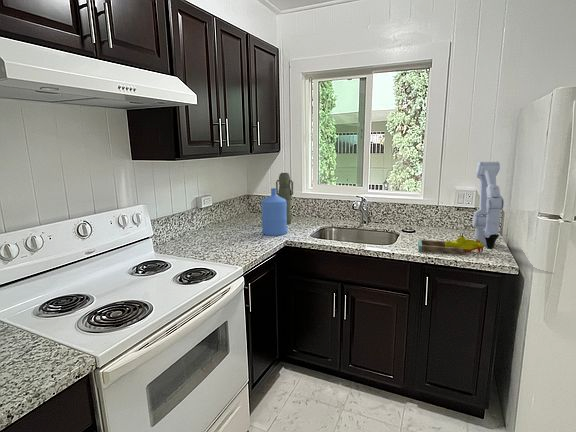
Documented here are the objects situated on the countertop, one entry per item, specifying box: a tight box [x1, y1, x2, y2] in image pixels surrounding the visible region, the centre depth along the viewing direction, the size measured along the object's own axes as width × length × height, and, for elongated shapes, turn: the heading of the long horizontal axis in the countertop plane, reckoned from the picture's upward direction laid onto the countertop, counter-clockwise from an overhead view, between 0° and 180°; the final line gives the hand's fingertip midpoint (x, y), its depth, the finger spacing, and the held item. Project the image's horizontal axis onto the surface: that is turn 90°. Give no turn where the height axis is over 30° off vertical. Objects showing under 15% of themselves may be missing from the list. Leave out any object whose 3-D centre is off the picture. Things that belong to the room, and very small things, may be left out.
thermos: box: [275, 172, 294, 226], centre depth 242 cm, size 9×12×35 cm
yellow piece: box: [444, 232, 485, 253], centre depth 178 cm, size 6×18×10 cm, turn 78°
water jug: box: [260, 188, 288, 237], centre depth 218 cm, size 16×16×28 cm
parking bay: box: [417, 239, 464, 256], centre depth 182 cm, size 20×12×3 cm, turn 71°
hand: (489, 248), depth 174 cm, fingers closed
